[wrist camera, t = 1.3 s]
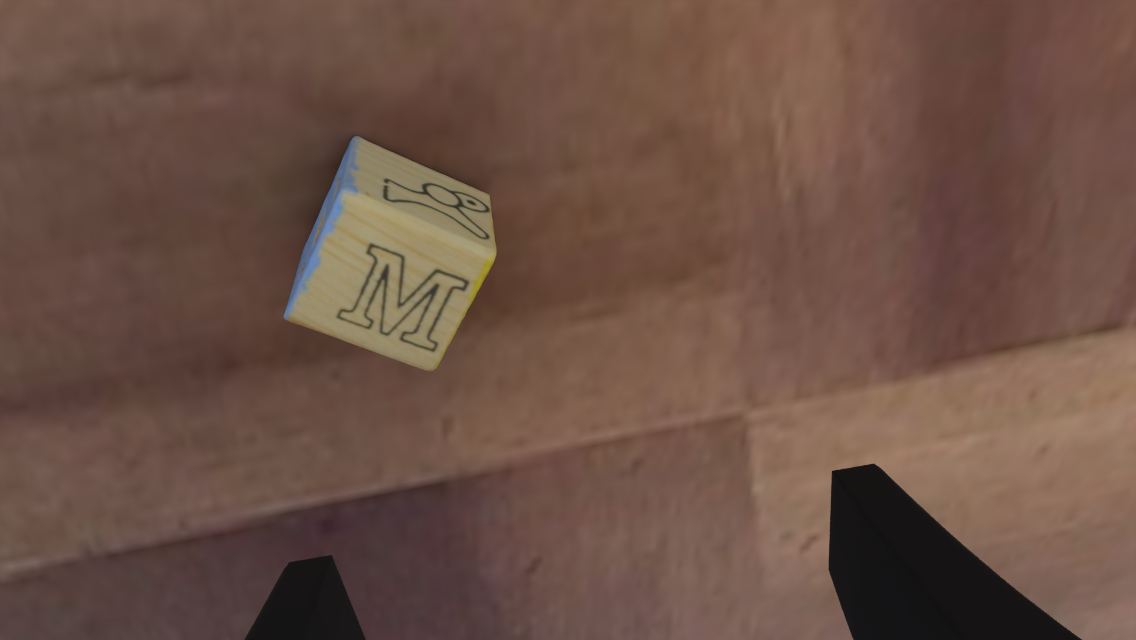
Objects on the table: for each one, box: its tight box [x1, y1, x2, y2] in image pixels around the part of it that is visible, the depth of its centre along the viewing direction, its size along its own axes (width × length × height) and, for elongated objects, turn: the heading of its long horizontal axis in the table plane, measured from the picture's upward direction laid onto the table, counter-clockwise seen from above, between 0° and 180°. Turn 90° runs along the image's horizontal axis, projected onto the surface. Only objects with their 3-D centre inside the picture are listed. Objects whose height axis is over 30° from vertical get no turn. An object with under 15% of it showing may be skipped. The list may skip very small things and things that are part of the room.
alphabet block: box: [284, 136, 497, 371], centre depth 18 cm, size 3×3×3 cm
